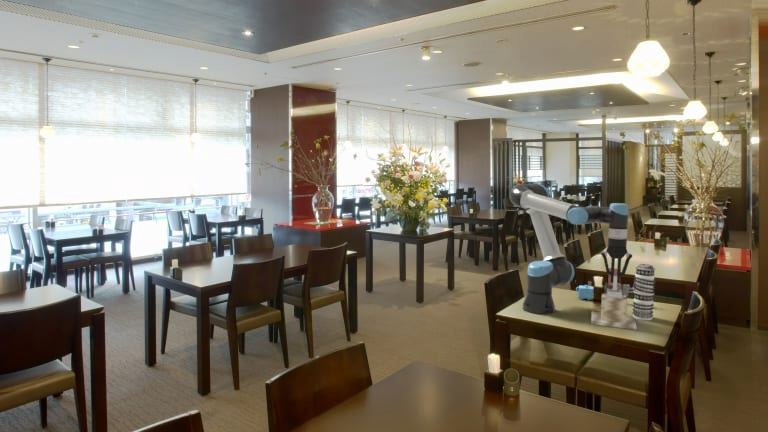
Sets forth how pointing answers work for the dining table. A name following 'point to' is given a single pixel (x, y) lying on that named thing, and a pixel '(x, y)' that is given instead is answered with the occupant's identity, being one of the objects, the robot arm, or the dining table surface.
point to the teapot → (585, 292)
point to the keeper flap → (610, 278)
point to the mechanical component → (626, 289)
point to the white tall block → (614, 293)
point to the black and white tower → (644, 292)
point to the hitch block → (613, 312)
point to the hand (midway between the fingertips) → (614, 289)
